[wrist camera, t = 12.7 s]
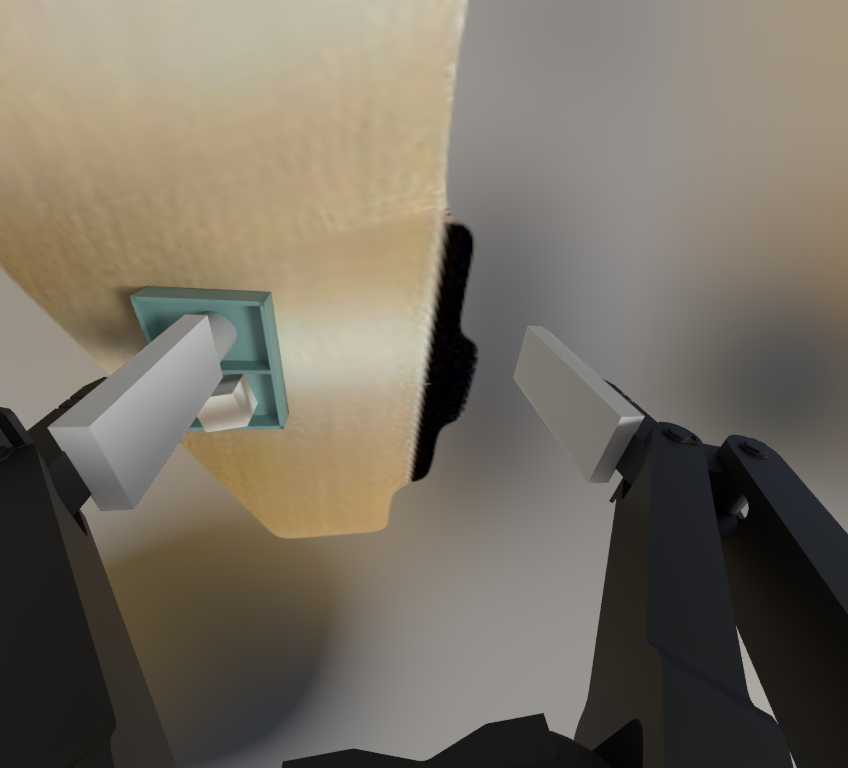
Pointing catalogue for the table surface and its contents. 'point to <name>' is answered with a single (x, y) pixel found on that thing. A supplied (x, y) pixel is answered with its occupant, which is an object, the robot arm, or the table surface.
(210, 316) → the beverage can
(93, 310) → the table surface
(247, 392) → the cream block
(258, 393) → the box
